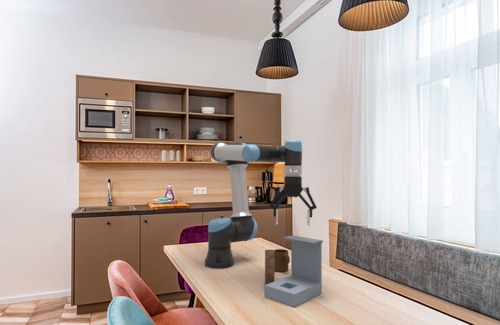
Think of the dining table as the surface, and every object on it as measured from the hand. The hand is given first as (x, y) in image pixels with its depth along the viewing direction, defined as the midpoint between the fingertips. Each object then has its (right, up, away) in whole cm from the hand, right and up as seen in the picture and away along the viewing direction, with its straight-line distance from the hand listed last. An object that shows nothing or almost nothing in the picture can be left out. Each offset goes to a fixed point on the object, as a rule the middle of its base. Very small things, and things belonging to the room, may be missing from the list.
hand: (292, 224), depth 147 cm
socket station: (-2, -25, -15) cm, 29 cm away
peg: (-10, -25, -5) cm, 28 cm away
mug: (-3, -26, +16) cm, 30 cm away
